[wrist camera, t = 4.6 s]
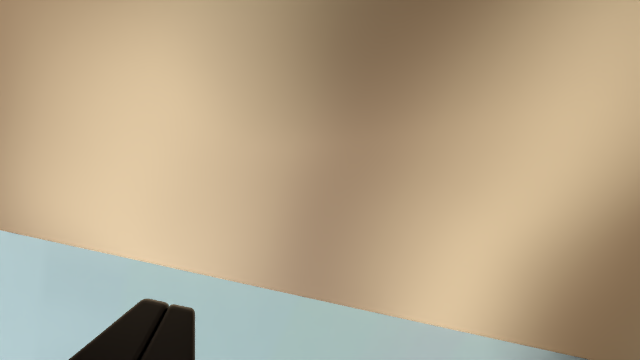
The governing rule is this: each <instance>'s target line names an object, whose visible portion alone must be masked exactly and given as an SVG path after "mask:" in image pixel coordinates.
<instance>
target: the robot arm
mask: <svg viewBox="0 0 640 360" xmlns="http://www.w3.org/2000/svg"><path fill="white" fill-rule="evenodd" d="M69 360H195V311H194V310H193V309H192V308H189V307H184V306H179V305H175V304H173V305H170V306H169V305H168V304H167V303H165V302H161V301H157V300H152V299H143V300H141V301H140V302H139V303H137V304H136V305H135V306H134V307H133V308H131V309H130V310H129V311H128V312H126V313H125V314H124V315H123V316H122V317H120V318H119V319H118V320H117V321H115V322H114V323H113V324H112V325H111V326H109V327H108V328H107V329H106V330H104V331H103V332H102V333H101V334H100V335H98V336H97V337H96V338H95V339H93V340H92V341H91V342H90V343H89V344H87V345H86V346H85V347H84V348H82V349H81V350H80V351H79V352H78V353H76V354H75V355H74V356H73V357H71V358H70V359H69Z"/></svg>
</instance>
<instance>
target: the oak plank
mask: <svg viewBox="0 0 640 360" xmlns="http://www.w3.org/2000/svg"><path fill="white" fill-rule="evenodd" d="M0 230H2V231H7V232H11V233H16V234H21V235H25V236H30V237H34V238H39V239H43V240H48V241H52V242H57V243H61V244H66V245H71V246H75V247H80V248H84V249H89V250H93V251H98V252H102V253H107V254H112V255H116V256H121V257H125V258H130V259H134V260H139V261H143V262H148V263H152V264H157V265H162V266H166V267H171V268H175V269H180V270H184V271H189V272H193V273H198V274H203V275H207V276H212V277H216V278H221V279H225V280H230V281H234V282H239V283H243V284H248V285H253V286H257V287H262V288H266V289H271V290H275V291H280V292H284V293H289V294H294V295H298V296H303V297H307V298H312V299H316V300H321V301H325V302H330V303H334V304H339V305H344V306H348V307H353V308H357V309H362V310H366V311H371V312H375V313H380V314H384V315H389V316H394V317H398V318H403V319H407V320H412V321H416V322H421V323H425V324H430V325H435V326H439V327H444V328H448V329H453V330H457V331H462V332H466V333H471V334H475V335H480V336H485V337H489V338H494V339H498V340H503V341H507V342H512V343H516V344H521V345H526V346H530V347H535V348H539V349H544V350H548V351H553V352H557V353H562V354H566V355H571V356H576V357H580V358H585V359H589V360H640V0H0Z"/></svg>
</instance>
